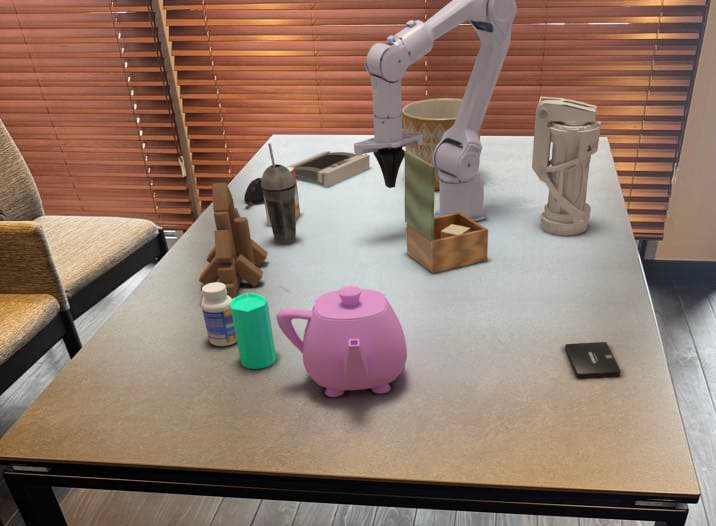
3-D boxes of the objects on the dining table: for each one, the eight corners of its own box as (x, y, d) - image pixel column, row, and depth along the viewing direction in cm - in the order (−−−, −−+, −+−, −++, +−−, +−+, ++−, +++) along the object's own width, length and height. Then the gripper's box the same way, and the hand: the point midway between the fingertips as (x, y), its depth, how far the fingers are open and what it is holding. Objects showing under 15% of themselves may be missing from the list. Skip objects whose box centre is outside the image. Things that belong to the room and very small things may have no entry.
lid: (407, 150, 152) (404, 151, 152) (435, 166, 144) (432, 167, 144) (407, 221, 161) (404, 221, 161) (433, 240, 153) (430, 240, 153)
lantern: (589, 219, 176) (604, 94, 160) (586, 237, 169) (602, 107, 152) (531, 216, 179) (540, 93, 162) (526, 234, 171) (534, 106, 155)
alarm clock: (327, 173, 196) (278, 157, 203) (327, 192, 199) (279, 176, 206) (369, 154, 206) (321, 140, 213) (369, 173, 210) (322, 158, 216)
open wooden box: (459, 241, 169) (460, 211, 165) (487, 260, 161) (488, 229, 157) (406, 253, 165) (405, 223, 161) (432, 273, 158) (432, 242, 153)
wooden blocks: (213, 253, 169) (196, 165, 157) (271, 250, 169) (258, 162, 157) (195, 305, 150) (173, 209, 138) (260, 302, 150) (244, 206, 139)
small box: (290, 227, 179) (284, 178, 172) (267, 226, 180) (260, 177, 173) (301, 214, 185) (295, 166, 178) (278, 213, 186) (272, 165, 179)
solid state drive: (605, 345, 133) (606, 341, 133) (620, 375, 126) (621, 371, 125) (564, 347, 133) (565, 343, 133) (576, 377, 126) (577, 374, 125)
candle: (242, 352, 136) (229, 285, 128) (277, 350, 136) (266, 283, 128) (239, 370, 131) (226, 302, 123) (275, 367, 132) (264, 299, 124)
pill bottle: (235, 347, 137) (224, 294, 131) (205, 346, 138) (193, 293, 131) (243, 332, 141) (234, 280, 135) (214, 332, 142) (203, 279, 135)
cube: (451, 245, 166) (451, 223, 163) (470, 249, 164) (470, 227, 161) (440, 253, 163) (440, 231, 160) (459, 257, 161) (459, 235, 158)
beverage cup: (308, 236, 174) (297, 138, 161) (291, 249, 169) (278, 148, 156) (280, 232, 177) (266, 135, 163) (262, 244, 172) (247, 145, 159)
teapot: (284, 424, 119) (269, 332, 109) (287, 358, 134) (275, 272, 124) (414, 414, 120) (411, 322, 109) (403, 350, 134) (400, 264, 124)
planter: (466, 164, 208) (467, 94, 197) (491, 187, 194) (494, 113, 183) (395, 173, 205) (392, 103, 194) (416, 197, 191) (414, 122, 180)
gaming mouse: (234, 208, 189) (231, 190, 187) (259, 187, 200) (256, 171, 197) (258, 209, 188) (256, 192, 185) (282, 189, 199) (279, 172, 196)
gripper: (362, 124, 152) (366, 197, 161) (429, 114, 156) (429, 185, 165) (347, 116, 157) (352, 188, 166) (413, 106, 161) (414, 176, 170)
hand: (390, 186), depth 166 cm, fingers closed
